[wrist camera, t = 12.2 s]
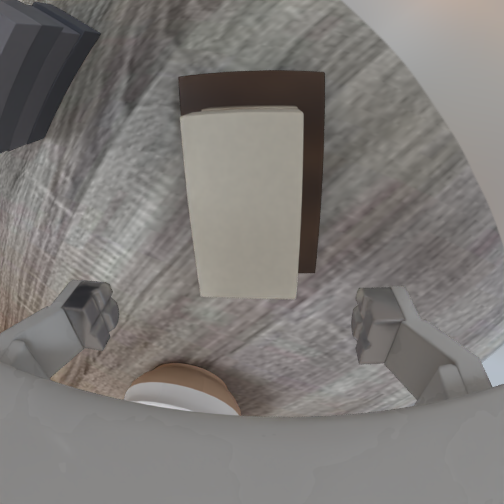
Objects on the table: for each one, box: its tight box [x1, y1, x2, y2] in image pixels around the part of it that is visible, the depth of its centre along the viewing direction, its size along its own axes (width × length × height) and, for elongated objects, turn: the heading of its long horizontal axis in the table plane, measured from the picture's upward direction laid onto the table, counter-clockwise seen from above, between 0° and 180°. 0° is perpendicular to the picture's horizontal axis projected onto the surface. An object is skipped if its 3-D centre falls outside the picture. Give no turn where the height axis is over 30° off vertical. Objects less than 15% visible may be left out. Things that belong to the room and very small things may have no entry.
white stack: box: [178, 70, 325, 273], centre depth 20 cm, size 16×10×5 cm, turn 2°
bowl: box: [124, 363, 241, 416], centre depth 34 cm, size 16×16×8 cm
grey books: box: [0, 0, 101, 153], centre depth 14 cm, size 11×8×10 cm
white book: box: [180, 109, 304, 299], centre depth 17 cm, size 11×6×2 cm, turn 2°
